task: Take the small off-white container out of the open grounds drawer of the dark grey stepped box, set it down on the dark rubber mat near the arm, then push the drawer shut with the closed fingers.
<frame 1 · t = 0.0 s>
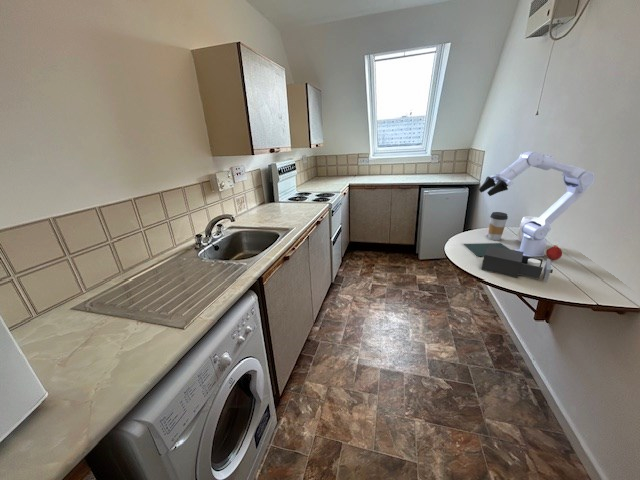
hand: (484, 192, 125), 32 cm above the table, tool tilted 50°, fingers open, 7 cm apart
onion: (551, 260, 128), on the table
coffee cup: (493, 238, 155), on the table
grounds drawer: (531, 267, 115), point 4 cm above the table, slide at 8.5 cm, touching container
mat: (489, 250, 141), on the table
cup: (525, 242, 148), on the table
dark grey stepped box: (500, 268, 123), on the table
container: (531, 270, 115), point 2 cm above the table, touching grounds drawer
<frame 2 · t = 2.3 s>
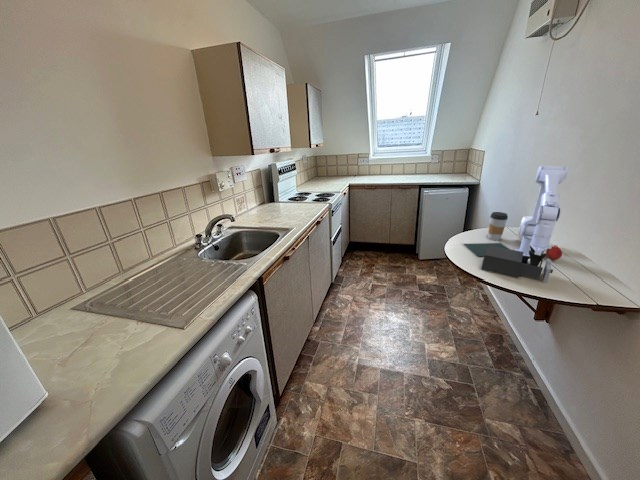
hand: (533, 264, 114), 5 cm above the table, tool pointing down, fingers open, 6 cm apart
grounds drawer: (532, 267, 115), point 4 cm above the table, slide at 8.5 cm, touching container, gripper
everything else where it was.
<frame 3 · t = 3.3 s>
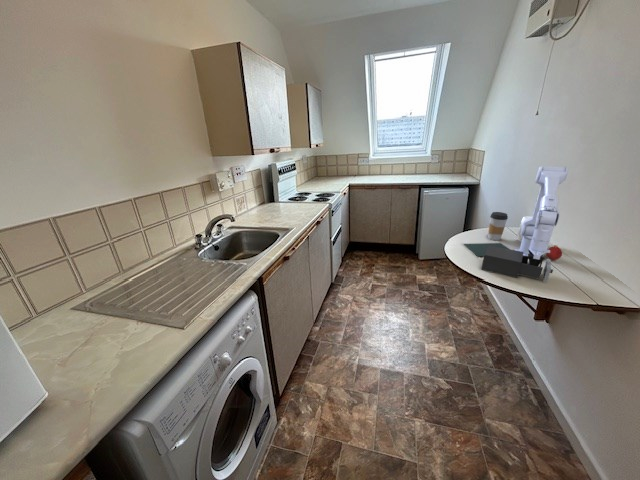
hand: (532, 268, 115), 3 cm above the table, tool pointing down, fingers closed on container, 4 cm apart
grounds drawer: (532, 267, 115), point 4 cm above the table, slide at 8.5 cm, touching container
container: (531, 270, 115), point 2 cm above the table, touching gripper, grounds drawer
everything else where it was.
when the fingers open (2 cm above the table, at t = 9.0 s): container stays where it is, resting on mat.
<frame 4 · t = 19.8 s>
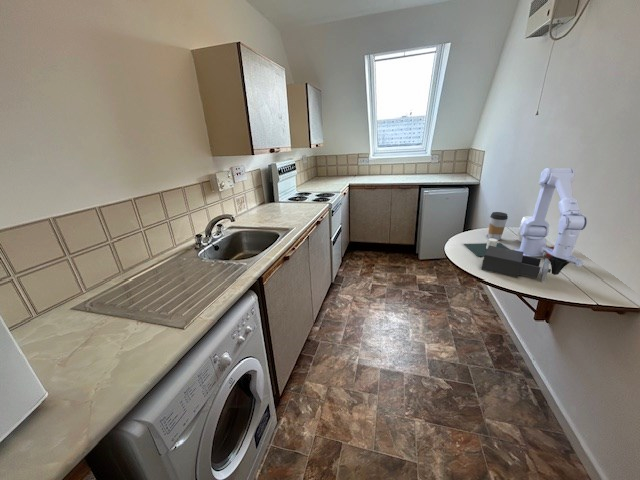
hand: (554, 273, 111), 3 cm above the table, tool pointing down, fingers closed
grounds drawer: (530, 266, 115), point 4 cm above the table, slide at 7.8 cm, touching gripper
container: (490, 248, 142), resting on mat
everything else where it was.
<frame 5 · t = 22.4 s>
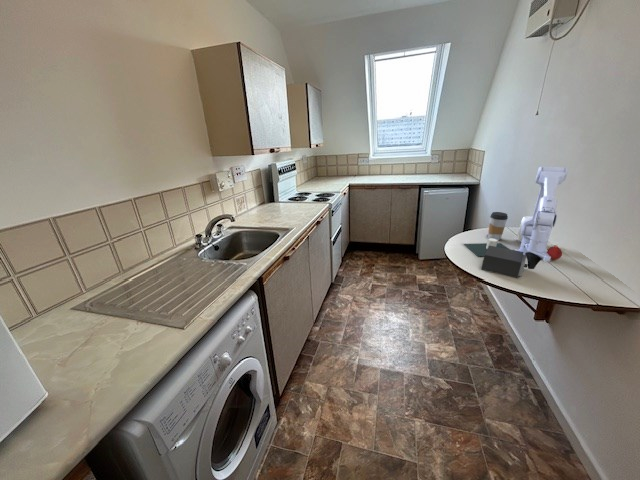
hand: (530, 268, 116), 3 cm above the table, tool pointing down, fingers closed, pressing on grounds drawer
grounds drawer: (508, 262, 120), point 4 cm above the table, slide at 0.0 cm, touching dark grey stepped box, gripper
everything else where it was.
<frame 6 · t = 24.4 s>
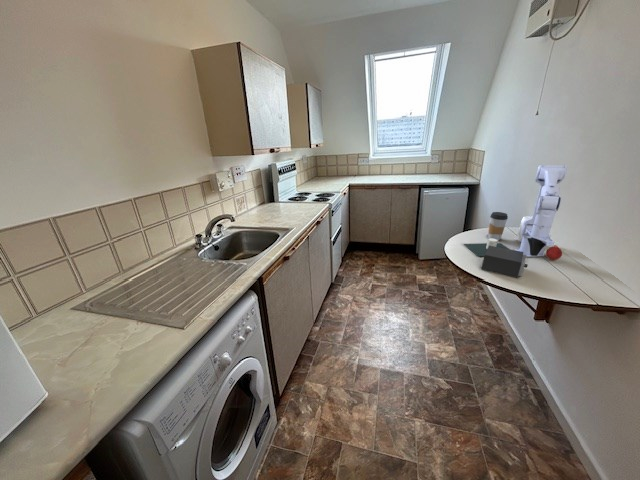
hand: (533, 255, 113), 9 cm above the table, tool pointing down, fingers closed
grounds drawer: (508, 262, 120), point 4 cm above the table, slide at 0.0 cm
everything else where it was.
at the end: container inside the target area on the mat (0.1 cm from its centre), point 0.4 cm above the mat's base; container tilted 0°; grounds drawer slide at 0.0 cm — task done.
